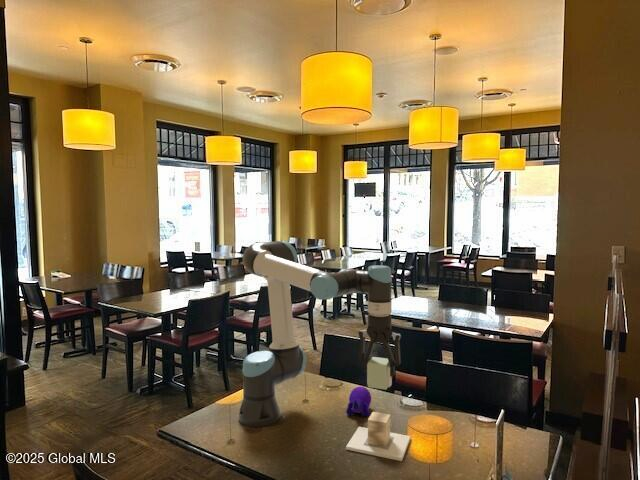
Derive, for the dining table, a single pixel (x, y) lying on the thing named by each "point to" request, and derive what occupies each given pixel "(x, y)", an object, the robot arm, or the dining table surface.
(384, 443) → the block maple
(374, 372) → the block sage
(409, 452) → the dining table surface
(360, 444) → the base plate
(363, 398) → the toy
